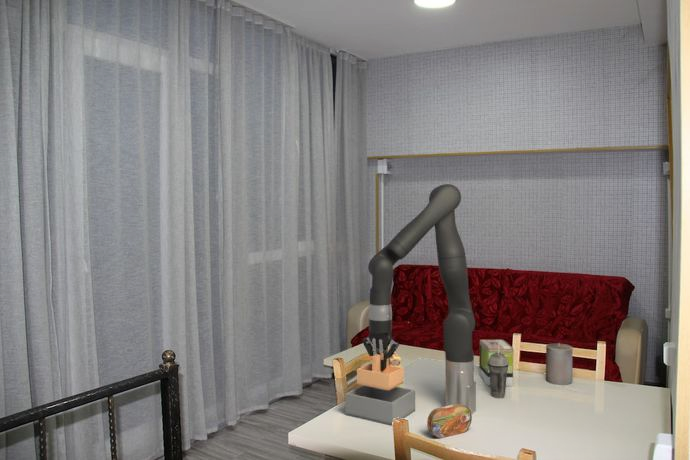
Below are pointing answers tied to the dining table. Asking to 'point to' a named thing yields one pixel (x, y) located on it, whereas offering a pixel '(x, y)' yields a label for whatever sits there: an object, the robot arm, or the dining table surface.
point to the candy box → (395, 361)
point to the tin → (449, 420)
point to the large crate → (380, 403)
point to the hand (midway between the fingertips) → (380, 369)
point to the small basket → (380, 375)
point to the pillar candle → (559, 364)
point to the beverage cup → (498, 374)
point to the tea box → (490, 348)
